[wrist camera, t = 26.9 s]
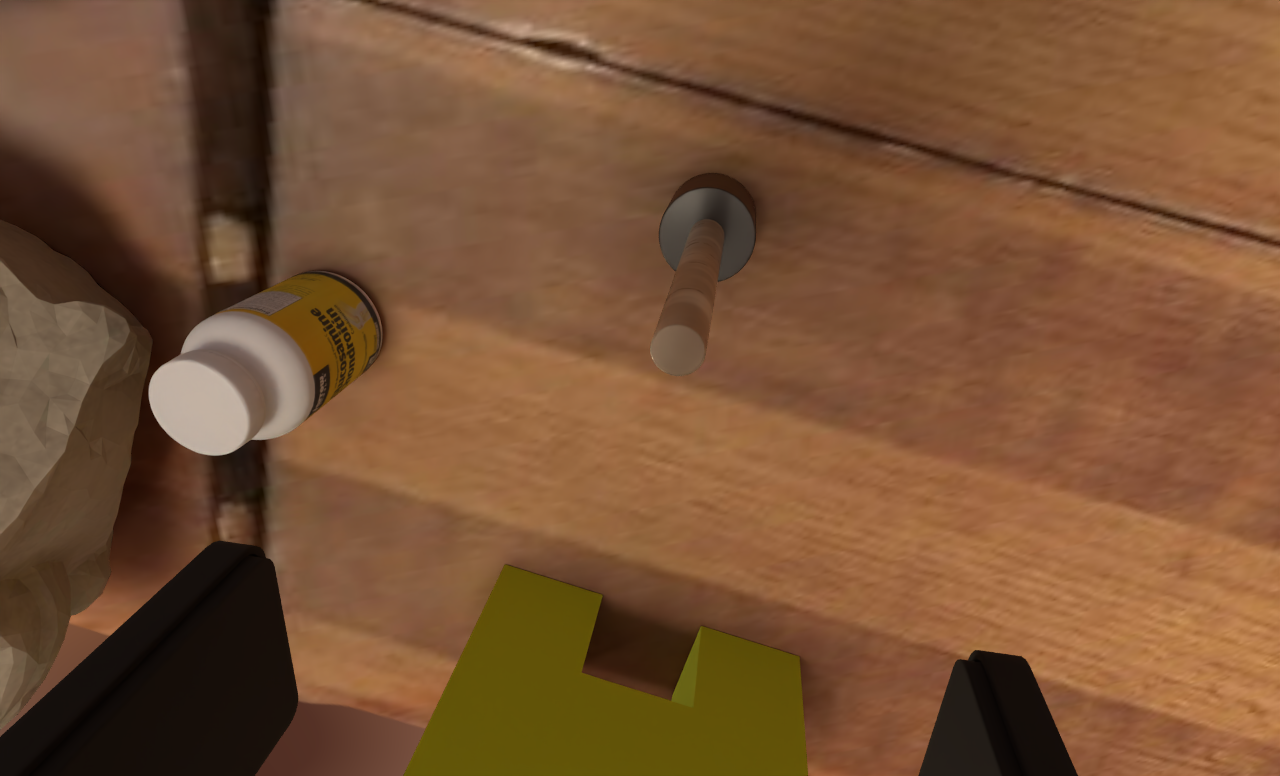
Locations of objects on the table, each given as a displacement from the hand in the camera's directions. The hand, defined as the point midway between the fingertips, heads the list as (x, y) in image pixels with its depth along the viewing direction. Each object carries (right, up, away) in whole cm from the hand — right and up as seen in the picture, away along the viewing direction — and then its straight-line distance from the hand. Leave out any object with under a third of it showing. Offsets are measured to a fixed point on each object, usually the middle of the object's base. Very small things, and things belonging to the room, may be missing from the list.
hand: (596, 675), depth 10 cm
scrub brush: (+4, +12, +27) cm, 30 cm away
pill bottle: (-17, +8, +33) cm, 38 cm away
